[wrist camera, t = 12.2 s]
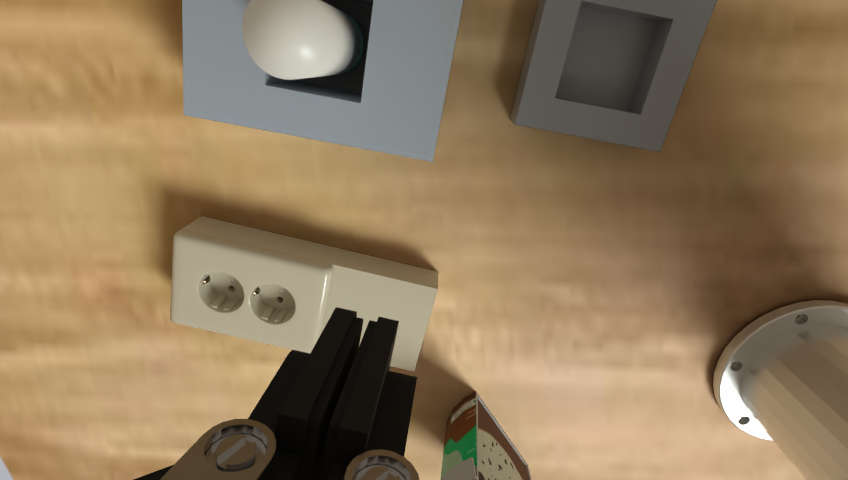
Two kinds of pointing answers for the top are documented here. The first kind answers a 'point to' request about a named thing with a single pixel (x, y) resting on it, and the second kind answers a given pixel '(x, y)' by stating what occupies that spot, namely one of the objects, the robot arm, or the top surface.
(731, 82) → the top surface
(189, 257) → the electrical outlet
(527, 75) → the grey square socket base
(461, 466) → the food container
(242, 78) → the port block
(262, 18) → the plug
